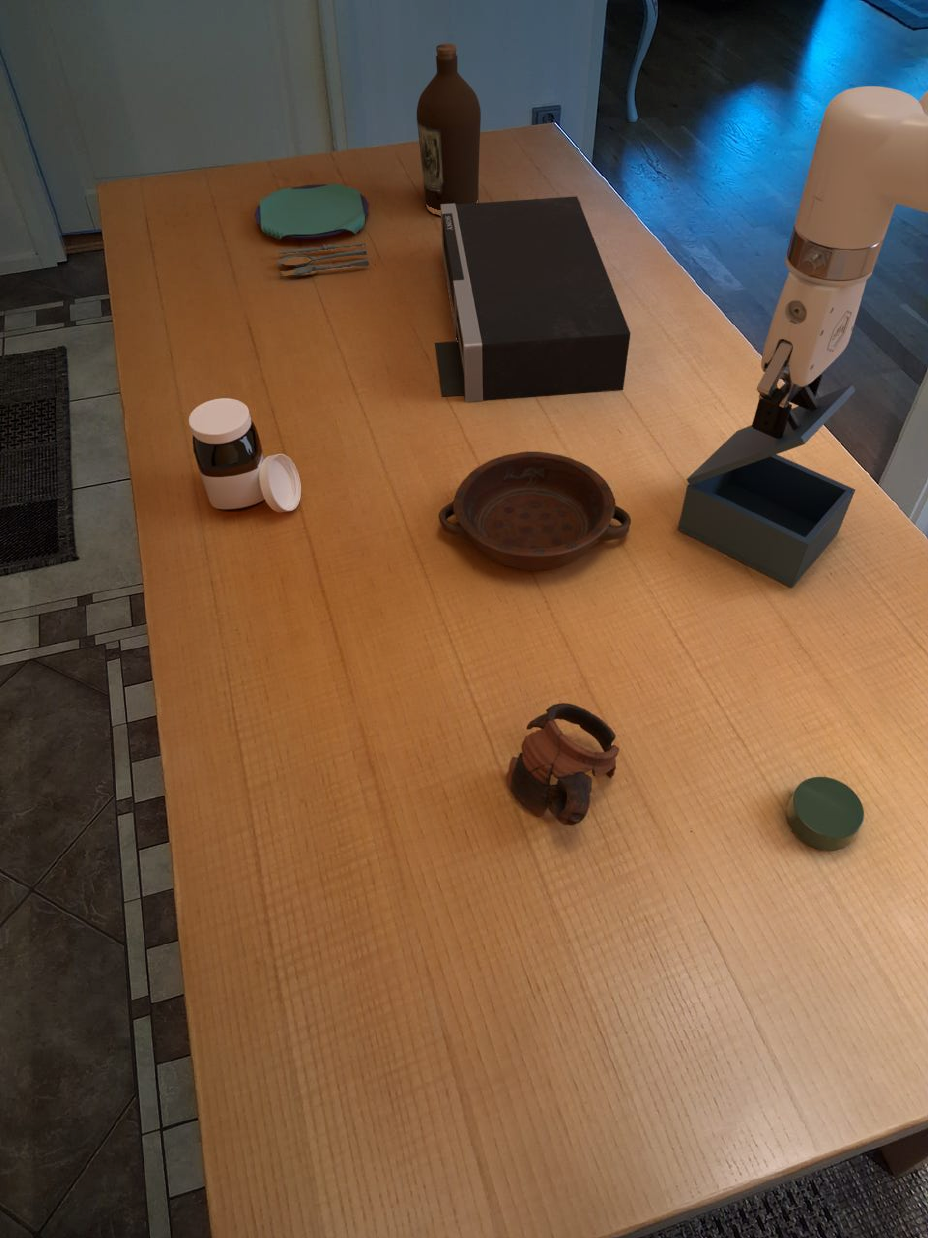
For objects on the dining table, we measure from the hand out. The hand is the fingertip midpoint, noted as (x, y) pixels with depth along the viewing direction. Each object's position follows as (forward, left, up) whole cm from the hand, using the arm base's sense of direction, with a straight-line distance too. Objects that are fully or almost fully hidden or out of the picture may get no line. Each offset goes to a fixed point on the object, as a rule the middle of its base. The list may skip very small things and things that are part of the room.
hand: (782, 416), depth 93 cm
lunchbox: (-1, +1, -16) cm, 16 cm away
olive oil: (+38, -82, -16) cm, 92 cm away
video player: (+27, -45, -16) cm, 55 cm away
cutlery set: (+61, -72, -16) cm, 96 cm away
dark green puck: (0, +38, -16) cm, 41 cm away
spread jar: (+59, -5, -16) cm, 62 cm away
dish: (+25, +1, -16) cm, 30 cm away
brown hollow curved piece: (+23, +35, -16) cm, 45 cm away
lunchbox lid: (0, 0, -3) cm, 3 cm away
